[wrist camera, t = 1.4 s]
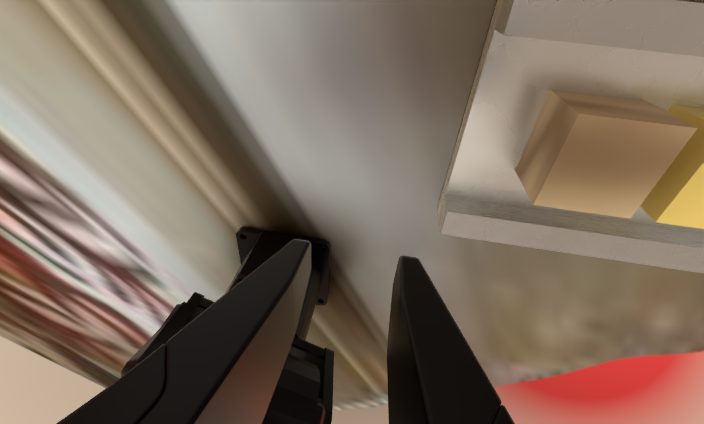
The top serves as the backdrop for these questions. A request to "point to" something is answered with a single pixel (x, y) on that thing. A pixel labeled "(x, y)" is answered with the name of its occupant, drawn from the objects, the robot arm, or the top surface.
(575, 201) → the oak chip
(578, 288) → the top surface
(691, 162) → the yellow block
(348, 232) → the top surface
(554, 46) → the slot board
